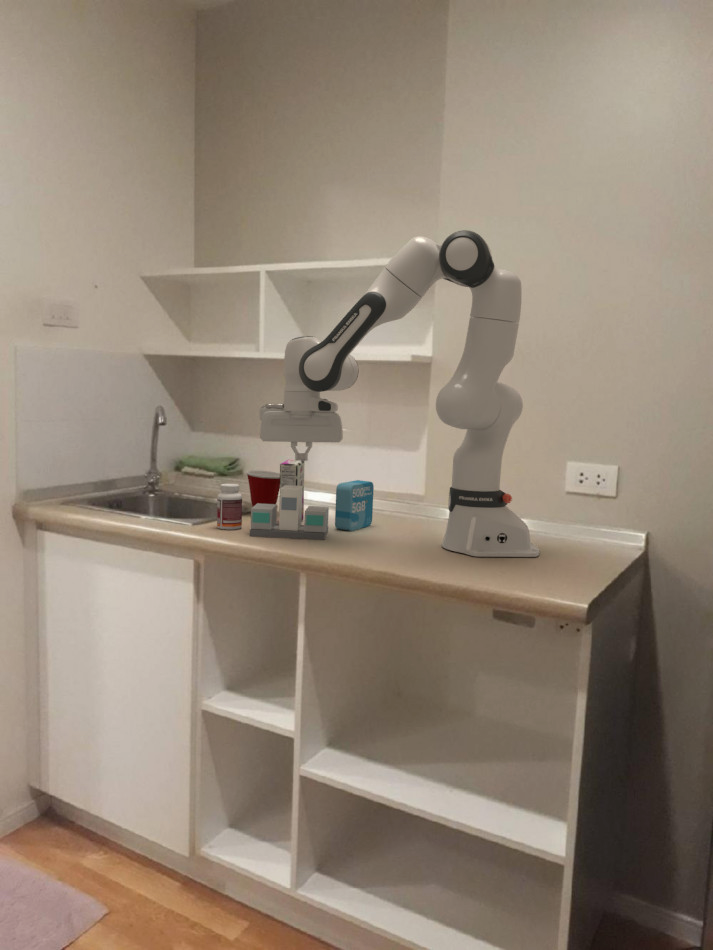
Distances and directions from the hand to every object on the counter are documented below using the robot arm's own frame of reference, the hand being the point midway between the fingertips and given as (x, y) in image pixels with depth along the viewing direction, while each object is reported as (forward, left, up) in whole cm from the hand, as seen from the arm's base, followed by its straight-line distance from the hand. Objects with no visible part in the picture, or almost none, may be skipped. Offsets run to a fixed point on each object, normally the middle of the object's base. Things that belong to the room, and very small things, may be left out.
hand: (301, 460), depth 183 cm
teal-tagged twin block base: (+2, +2, -18) cm, 18 cm away
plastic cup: (+13, -24, -18) cm, 33 cm away
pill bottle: (+18, -2, -18) cm, 26 cm away
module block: (+2, +2, -17) cm, 17 cm away
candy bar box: (+4, -14, -18) cm, 23 cm away
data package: (-13, -11, -18) cm, 25 cm away
